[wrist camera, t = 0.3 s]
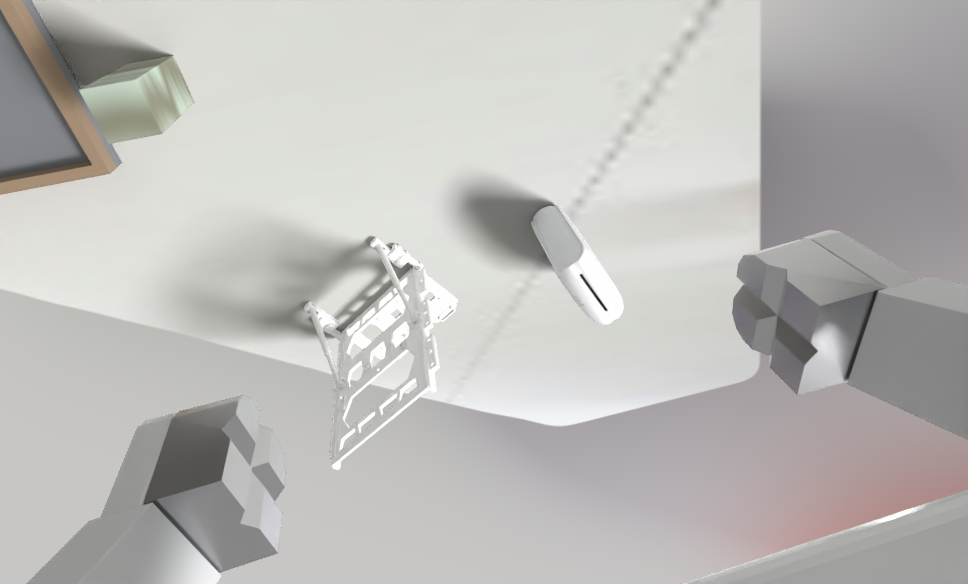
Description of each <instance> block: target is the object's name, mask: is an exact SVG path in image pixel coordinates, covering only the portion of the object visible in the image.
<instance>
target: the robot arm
mask: <svg viewBox="0 0 968 584" xmlns="http://www.w3.org/2000/svg"><path fill="white" fill-rule="evenodd" d="M737 278H738V279H739V280H740V281H741V282H742V283H743V286H742V287H741V289H740V290H739V291H738V293H737V294H736V295H735V297H734V300H733V311H732V314H733V318H734V321H735V325H736V329H737V330H738V332H739V334H740V335H741V337H742V339H743V340H744V341H745V342H746V343H747V344H748V345H749V346H750V347H751V348H752V349H753V350H756V351H758V352H761V353H764V354H766V355H769V356H770V368H771V369H772V370H773V371H774V372H775V373H776V374H777V375H778V376H779V377H780V378H781V379H782V380H783V381H784V382H785V383H786V384H787V385H788V386H789V387H790V388H791V389H792V390H793V391H794V392H795V393H796V394H797V395H800V394H803V393H807V392H811V391H814V390H817V389H821V388H825V387H828V386H832V385H836V384H839V383H843V382H847V381H848V383H847V384H848V385H850V386H852V387H855V388H857V389H859V390H861V391H863V392H865V393H867V394H870V395H872V396H874V397H876V398H878V399H880V400H882V401H885V402H887V403H889V404H891V405H893V406H896V407H898V408H900V409H902V410H904V411H906V412H908V413H911V414H913V415H915V416H917V417H919V418H921V419H924V420H926V421H928V422H930V423H932V424H934V425H937V426H939V427H941V428H943V429H945V430H947V431H950V432H952V433H954V434H956V435H958V436H961V437H963V438H965V439H967V440H968V285H965V284H960V283H955V282H950V281H946V280H941V279H936V278H932V277H925V278H921V279H918V278H916V277H914V276H913V275H911V274H909V273H908V272H906V271H905V270H903V269H901V268H900V267H898V266H896V265H895V264H893V263H891V262H890V261H888V260H886V259H885V258H883V257H881V256H880V255H878V254H876V253H875V252H873V251H872V250H870V249H868V248H866V247H865V246H863V245H862V244H860V243H858V242H857V241H855V240H853V239H852V238H850V237H848V236H847V235H845V234H843V233H842V232H838V231H834V230H827V231H824V232H821V233H817V234H814V235H810V236H807V237H804V238H801V239H800V240H797V241H792V242H789V243H786V244H782V245H779V246H775V247H772V248H768V249H765V250H761V251H758V252H754V253H751V254H747V255H744V256H743V257H742V259H741V261H740V262H739V264H738V270H737ZM260 412H261V410H260V409H259V408H258V406H257V405H256V403H255V402H254V400H253V399H252V397H250V396H246V395H241V396H237V397H234V398H230V399H226V400H222V401H218V402H214V403H210V404H206V405H202V406H198V407H194V408H191V409H187V410H183V411H180V412H178V413H174V414H169V415H165V416H162V417H158V418H154V419H150V420H146V421H145V422H143V423H142V424H141V425H140V426H139V427H137V430H136V432H135V434H134V436H133V439H132V441H131V444H130V446H129V449H128V451H127V454H126V456H125V459H124V461H123V463H122V466H121V468H120V471H119V473H118V476H117V478H116V481H115V484H114V486H113V488H112V490H111V493H110V495H109V498H108V500H107V503H106V505H105V508H104V510H103V513H102V515H101V517H100V518H97V519H94V520H91V521H89V522H88V523H87V524H86V525H85V526H84V527H83V528H82V529H81V530H80V531H79V532H78V533H77V534H76V535H75V536H74V537H73V538H72V539H71V540H70V541H69V542H68V543H67V544H66V545H65V546H64V547H63V548H62V549H61V550H60V551H59V552H58V553H57V554H56V555H55V556H54V557H53V558H52V559H51V560H50V561H49V562H48V563H47V564H46V565H45V566H44V567H43V568H42V569H41V570H40V571H39V572H38V573H37V574H36V575H35V576H34V577H33V578H32V579H31V580H30V581H29V582H28V583H27V584H217V582H218V580H219V578H220V577H221V574H220V572H223V571H226V570H229V569H232V568H235V567H238V566H241V565H244V564H247V563H250V562H253V561H256V560H259V559H262V558H265V557H268V556H271V555H274V554H277V553H278V550H279V540H280V530H281V521H282V512H281V510H280V509H279V507H278V506H277V504H276V503H275V500H276V499H277V497H278V496H279V494H280V493H281V492H282V490H283V489H284V487H285V477H286V468H285V461H284V454H283V451H282V448H281V445H280V442H279V440H278V438H277V436H276V435H275V433H274V431H273V430H272V429H270V428H267V427H265V426H263V425H260V424H259V419H260ZM682 584H968V490H965V491H962V492H959V493H956V494H953V495H950V496H947V497H944V498H941V499H938V500H935V501H932V502H929V503H926V504H923V505H920V506H917V507H914V508H911V509H907V510H905V511H901V512H898V513H895V514H892V515H889V516H886V517H883V518H880V519H877V520H874V521H871V522H868V523H865V524H862V525H859V526H856V527H853V528H850V529H847V530H844V531H841V532H837V533H834V534H832V535H828V536H825V537H822V538H819V539H816V540H813V541H810V542H807V543H804V544H801V545H798V546H795V547H792V548H789V549H786V550H783V551H780V552H777V553H774V554H771V555H767V556H765V557H762V558H758V559H755V560H753V561H749V562H746V563H743V564H740V565H737V566H734V567H731V568H728V569H725V570H722V571H719V572H716V573H713V574H710V575H706V576H704V577H700V578H697V579H694V580H691V581H688V582H686V583H682Z"/></svg>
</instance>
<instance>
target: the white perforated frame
mask: <svg viewBox="0 0 968 584" xmlns="http://www.w3.org/2000/svg"><path fill="white" fill-rule="evenodd" d="M379 241H380V240H379V239H378V238H376V237H375V238H374V239H373V240H372V241H371V242H370V246H371V247H372V248H374V249H375V250H376V251H378V253H379V256H380V258H381V260H382V262H383V264H384V266H385V268H386V270H387V272H388V274H389V276H390V278H391V280H392V283H393V285H392V286H391V287H390V288H389V289H388V290H387V291H386V292H385V293H384V294H382V295H381V296H380V297H379V298H378V299H377V300H376V301H375V302H374V303H373V304H372V305H370V306H369V307H368V308H367V309H366V310H365V311H364V312H363V313H362V314H361V315H360V316H358V317H357V318H356V319H355V320H354V321H353V322H352V323H351V324H350V325H349V326H348V327H346V328H345V329H344V330H343V331H342V333H341V332H339V331H338V330H336V328H337V327H338V326H339V320H337V319H335V318H334V317H332V316H331V315H329V314H328V313H326V312H325V311H323V310H322V309H320V308H319V307H317V306H316V305H314V304H313V303H311V302H308V303H306V304H305V305H304V311H306V312H307V313H309V314H310V315H311V318H312V321H313V323H314V326H315V329H316V332H317V335H318V337H319V340H320V343H321V346H322V348H323V351H324V354H325V356H326V357H327V360H328V362H329V365H330V368H331V371H332V373H333V376H334V379H335V382H336V383H334V384H333V387H332V388H333V389H332V390H333V391H334V392H335V396H334V407H335V413H334V418H333V419H332V430H331V442H330V453H331V458H330V459H331V467H332V468H333V469H336V470H339V469H340V467H341V461H342V460H343V459H344V458H345V457H347V456H348V455H349V454H350V453H351V452H353V451H354V450H355V449H356V448H358V447H359V446H360V445H361V444H362V443H364V442H365V441H366V440H367V439H368V438H370V437H371V436H372V435H374V434H375V433H376V432H377V431H378V430H380V429H381V428H382V427H383V426H384V425H386V424H387V423H388V422H389V421H390V420H392V419H393V418H394V417H396V416H397V415H398V414H399V413H400V412H402V411H403V410H404V409H405V408H407V407H408V406H409V405H410V404H411V403H413V402H414V401H415V400H416V399H418V398H419V397H420V396H421V395H423V394H424V393H425V392H426V391H429V390H431V391H432V392H435V391H436V383H435V375H434V372H435V371H436V370H437V369H438V368H440V366H439V359H438V352H437V346H436V339H435V336H434V335H433V334H431V335H430V336H429V330H430V329H431V328H432V327H433V326H434V325H433V322H435V323H438V322H439V321H442V322H443V321H444V320H445V319H447V318H448V317H449V316H450V315H451V314H452V313H454V312H455V311H456V309H455V307H456V306H457V305H456V302H458V299H457V298H456V297H454V296H453V295H452V294H451V293H449V292H448V291H447V290H446V289H445V288H444V287H442V286H440V285H439V284H438V283H437V282H435V281H434V280H433V279H432V278H430V277H429V276H428V275H426V271H425V269H423V268H422V267H423V264H422V263H419V262H418V261H417V260H416V259H414V258H413V257H412V256H411V255H410V254H409V252H407V251H404V250H403V249H402V247H401V246H400V245H397V244H396V243H395V244H393V245H392V249H390V248H389V247H388V246H387V245H385V244H384V243H383V242H382V241H380V242H379ZM382 246H383V247H384V248H383V247H382ZM390 261H391V262H392V263H393V264H394V265H395V266H397V267H398V268H402V267H403V266H404V265H405V264H406V263H407V262H408V263H410V264H411V265H412V266H413V267H412V268H411V269H410V270H409V271H407V272H406V273H405V274H404V275H403V276H402V277H401V278H400V279H399V280H398V278H397V276H396V274H395V272H394V269H393V267H392V265H391V263H390ZM421 268H422V269H421ZM420 269H421V270H420ZM428 290H429V291H430V292H431V293H432V294H433V295H434V296H435V297H434V298H433V299H432V300H431V301H430V300H429V299H427V298H426V299H425V300H424V296H425V295H426V294H427V293H428V292H429V291H428ZM437 297H440V298H437ZM312 305H314V306H312ZM449 305H450V306H451V307H449ZM396 308H397V309H398V310H399V311H400V312H401V314H400V315H399V316H398V317H397V318H395V317H393V316H391V315H390V314H391V313H392V312H393V311H394V310H395V309H396ZM404 308H405V309H404ZM453 309H454V311H453V312H452V313H450V314H449V315H448V316H447V317H446V318H445V319H443V320H441V319H442V318H443V317H445V316H446V315H447V314H448V313H449V312H450V311H452V310H453ZM315 310H316V311H317V312H316V311H315ZM437 316H439V318H438V317H437ZM365 319H367V320H365ZM390 320H391V321H390ZM370 323H371V324H373V325H376V326H378V327H379V328H380V329H381V330H383V332H382V333H381V334H380V335H379V336H378V337H377V338H376V339H374V340H373V341H371V340H369V339H367V338H365V337H364V336H363V335H362V334H361V333H360V332H361V331H362V330H363V329H365V328H366V327H367V326H368V325H369V324H370ZM405 326H406V327H405ZM322 329H323V330H322ZM353 329H356V330H353ZM323 331H324V332H326V333H328V334H330V335H332V336H334V337H335V338H337V339H338V340H339V341H340V343H339V350H338V361H337V369H339V370H338V373H337V370H336V367H335V365H334V362H333V359H332V357H331V351H330V349H329V346H328V343H327V340H326V338H325V335H324V332H323ZM353 343H355V344H356V345H358V346H360V347H361V348H363V350H362V351H361V352H360V353H359V354H358V355H356V356H355V357H354V358H352V357H351V356H350V355H349V352H350V350H351V347H352V345H353ZM381 347H383V348H381ZM408 351H409V352H411V353H412V354H413V355H414V356H415V358H414V361H413V364H412V367H411V371H410V374H409V377H408V379H407V380H406V381H405V382H404V383H403V384H401V385H400V386H399V387H398V388H397V389H395V390H394V391H393V392H392V393H391V394H390V395H388V396H387V397H386V398H385V399H384V400H382V401H381V402H380V403H379V404H378V405H376V406H375V407H374V408H373V409H372V410H370V411H369V412H368V413H367V414H366V415H364V416H363V417H362V418H361V419H360V420H358V421H357V422H356V423H355V424H354V425H352V426H351V427H349V426H348V424H347V423H346V421H345V418H346V415H347V412H348V409H349V407H350V404H351V402H352V399H353V397H354V396H356V395H357V394H358V393H359V392H360V391H361V390H363V389H364V388H365V387H366V386H367V385H368V384H370V383H371V382H372V381H373V380H374V379H375V378H377V377H378V376H379V375H380V374H381V373H382V372H384V371H385V370H386V369H387V368H388V367H389V366H391V365H392V364H393V363H394V362H395V361H396V360H399V359H400V358H401V357H402V356H403V355H405V354H406V353H407V352H408ZM373 355H374V356H376V357H377V358H379V359H381V361H380V362H379V363H378V364H376V365H375V366H374V367H373V365H372V360H373ZM361 364H362V366H363V367H364V368H363V373H362V377H361V378H360V379H359V380H358V381H357V382H356V383H354V384H353V385H352V386H351V385H350V380H351V375H352V372H353V371H354V370H355V369H356V368H357V367H359V366H360V365H361ZM415 381H416V382H417V384H418V386H417V387H416V388H415V389H414V390H412V391H411V392H410V393H409V394H408V395H406V396H405V397H404V398H403V399H402V396H403V391H404V390H405V389H407V388H408V387H409V386H410V385H412V384H413V383H414V382H415ZM396 397H397V400H396V404H395V405H394V406H393V407H392V408H391V409H389V410H388V411H387V412H386V413H385V414H383V413H382V412H383V410H382V409H383V408H384V407H385V406H386V405H387V404H389V403H390V402H391V401H392V400H393V399H395V398H396ZM374 415H375V417H374V423H372V424H371V425H370V426H369V427H368V428H366V429H365V430H364V431H363V432H362V433H361V426H362V425H363V424H365V423H366V422H367V421H368V420H369V419H371V418H372V417H373V416H374ZM353 432H356V438H354V439H353V440H352V441H351V442H350V443H348V444H347V445H346V446H345V447H343V444H344V440H345V439H346V438H348V437H349V436H350V435H351V434H352V433H353Z"/></svg>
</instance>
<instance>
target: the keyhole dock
mask: <svg viewBox="0 0 968 584" xmlns="http://www.w3.org/2000/svg"><path fill="white" fill-rule="evenodd" d="M79 90H80V87H79V85H78V83H77V81H76V80H75V78H74V76H73V74H72V72H71V71H70V69H69V67H68V65H67V64H66V62H65V60H64V58H63V56H62V55H61V53H60V51H59V49H58V47H57V46H56V44H55V42H54V40H53V38H52V37H51V35H50V33H49V31H48V29H47V28H46V26H45V24H44V22H43V20H42V19H41V17H40V15H39V13H38V11H37V10H36V8H35V6H34V4H33V2H32V1H31V0H0V195H1V194H6V193H12V192H17V191H22V190H27V189H32V188H38V187H43V186H48V185H53V184H59V183H64V182H69V181H74V180H79V179H85V178H90V177H95V176H100V175H106V174H110V173H111V172H112V171H114V170H115V169H116V168H117V167H118V166H119V165H120V164H121V163H122V162H121V160H120V159H119V157H118V155H117V153H116V152H115V150H114V148H113V146H112V144H109V143H108V142H107V140H106V138H105V136H104V134H103V133H102V131H101V129H100V127H99V126H98V124H97V122H96V120H95V118H94V117H93V115H92V113H91V111H90V109H89V108H88V106H87V104H86V102H85V101H84V99H83V97H82V95H81V93H80V92H79Z"/></svg>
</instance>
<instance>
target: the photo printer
mask: <svg viewBox="0 0 968 584" xmlns="http://www.w3.org/2000/svg"><path fill="white" fill-rule="evenodd" d="M531 225H532V228H533V230H534V233H535V234H536V236H537V238H538V240H539V242H540V243H541V245H542V247H543V249H544V251H545V253H546V255H547V257H548V259H549V261H550V263H551V265H552V267H553V269H554V270H555V272H556V274H557V276H558V278H559V279H560V281H561V282H562V284H563V285H564V287H565V288H566V290H567V291H568V292H569V294H570V295H571V297H572V298H573V299H574V301H575V302H576V303H577V304H578V306H579V307H580V308H581V309H582V310H583V312H584V313H585V314H586V315H587V316H589V317H590V318H591V319H592V320H594V321H595V322H597V323H600V324H610V323H611V322H612V321H613V320H615V319H617V318H619V317H620V315H621V314H622V311H623V301H622V298H621V295H620V293H619V292H618V290H617V288H616V287H615V285H614V283H613V282H612V280H611V279H610V277H609V276H608V274H607V273H606V271H605V270H604V268H603V267H602V265H601V264H600V262H599V260H598V259H597V257H596V256H595V254H594V253H593V251H592V250H591V248H590V247H589V245H588V244H587V242H586V241H585V239H584V238H583V237H582V235H581V234H580V232H579V231H578V230H577V228H576V227H575V226H574V224H573V223H572V222H571V220H570V219H569V218H568V216H567V215H566V214H565V213H564V212H563V211H562V210H561V209H560V208H559V207H558V206H557V205H555V206H546V207H544V208H542V209H540V210H539V211H538V212H537V213H536V214H535V215H534V217H533V221H532V222H531Z"/></svg>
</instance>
